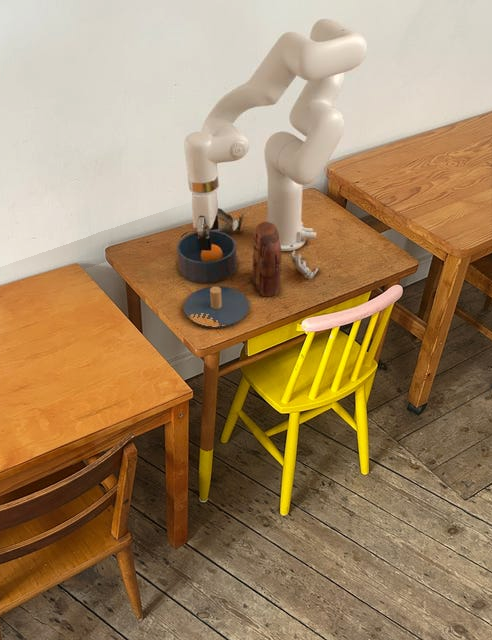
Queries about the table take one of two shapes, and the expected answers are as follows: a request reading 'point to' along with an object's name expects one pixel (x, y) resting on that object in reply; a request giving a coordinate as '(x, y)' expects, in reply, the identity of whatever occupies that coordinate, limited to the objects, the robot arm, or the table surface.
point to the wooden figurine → (267, 259)
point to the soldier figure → (303, 266)
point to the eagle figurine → (228, 222)
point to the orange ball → (212, 254)
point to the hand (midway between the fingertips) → (209, 239)
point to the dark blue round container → (206, 271)
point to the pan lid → (217, 305)
